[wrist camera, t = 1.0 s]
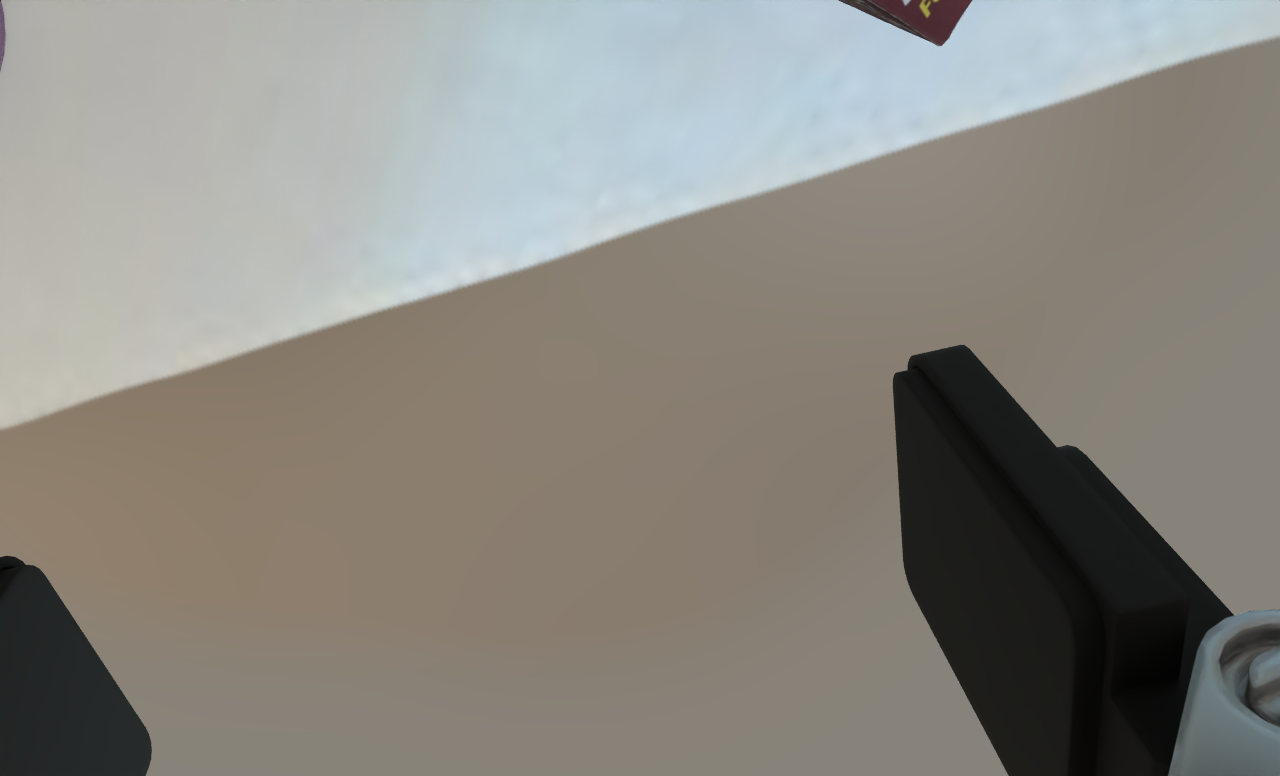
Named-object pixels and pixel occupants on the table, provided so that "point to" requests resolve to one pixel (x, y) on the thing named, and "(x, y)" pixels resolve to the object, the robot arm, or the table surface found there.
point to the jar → (2, 34)
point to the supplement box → (917, 15)
